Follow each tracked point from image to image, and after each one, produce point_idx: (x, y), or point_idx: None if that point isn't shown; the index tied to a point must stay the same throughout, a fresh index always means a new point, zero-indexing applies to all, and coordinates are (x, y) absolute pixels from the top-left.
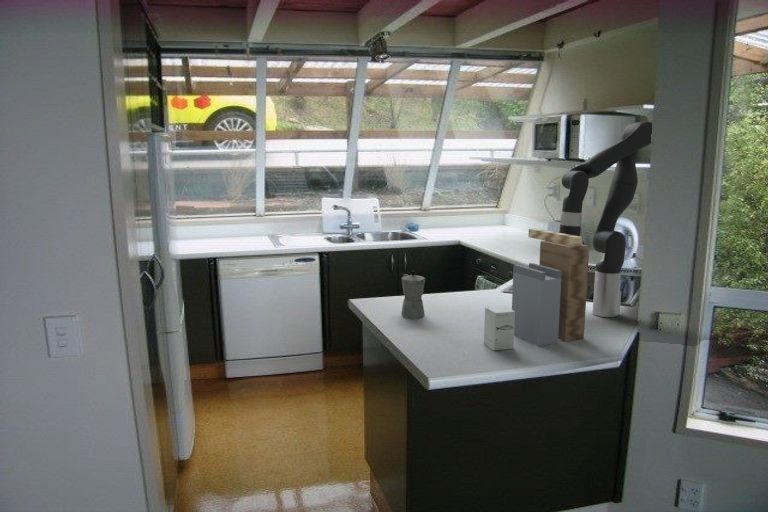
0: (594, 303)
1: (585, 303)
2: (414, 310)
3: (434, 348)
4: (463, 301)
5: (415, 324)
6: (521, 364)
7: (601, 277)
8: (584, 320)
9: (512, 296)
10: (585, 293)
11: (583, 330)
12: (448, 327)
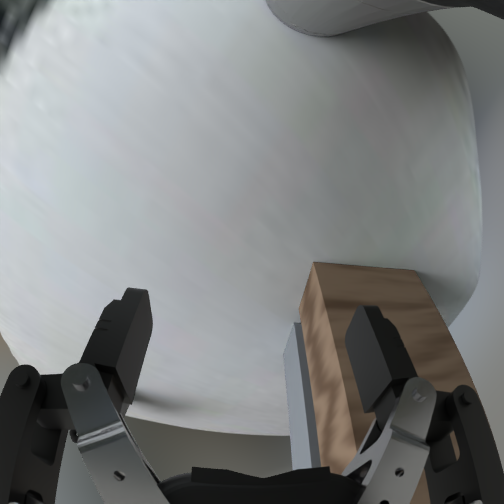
0: (304, 23)
1: (452, 340)
2: (127, 406)
3: (270, 423)
4: (24, 289)
5: (163, 405)
6: None
7: (410, 8)
8: (433, 304)
9: (290, 429)
10: (462, 366)
11: (422, 286)
12: (195, 393)
